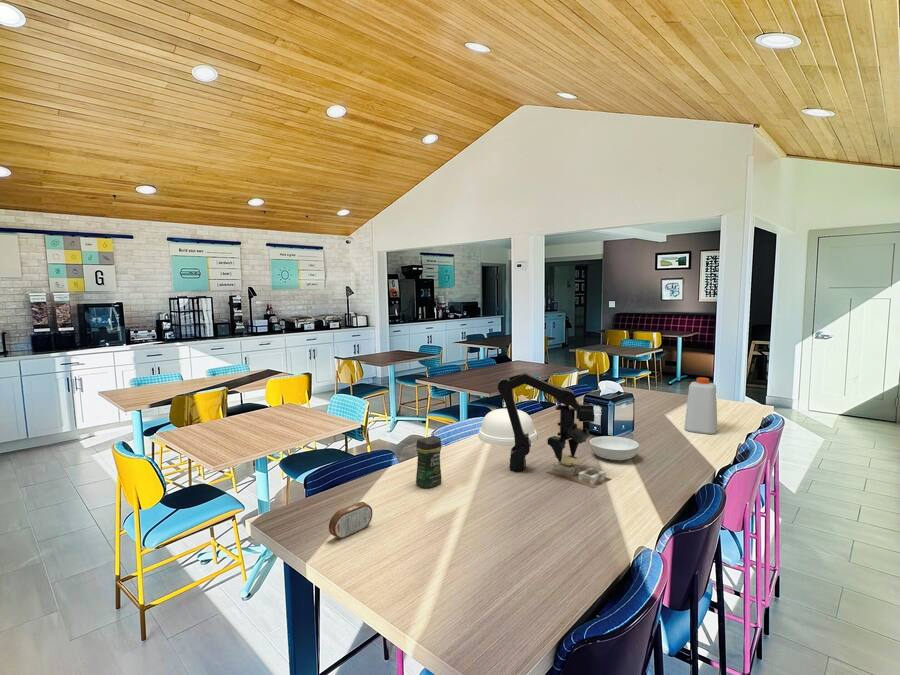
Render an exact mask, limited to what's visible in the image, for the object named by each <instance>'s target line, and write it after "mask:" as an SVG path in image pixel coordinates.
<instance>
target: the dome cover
mask: <svg viewBox="0 0 900 675" xmlns="http://www.w3.org/2000/svg"><path fill="white" fill-rule="evenodd" d="M517 411H518V415H519V418H520V422H521V425H522V429H523V431H524V433H525V434H527V433H528V434H529V439H530V441H531V444H533V443H535V442H536V441H537V440H538V432H537V430H536V429H535V425H534V421H533V419H532V417H531V416H530V415H529V414H528V413H527V412H525V411H523V410H521V409H517ZM478 439H479V440H480V441H481V442H483V443H486V444H489V445H493V446H494V445H495V446H500V447H501V446H502V447H514V446H515V438H514V432H513V428H512V425H511V421H510V418H509V414H508V411H507V407H505V408H498V409H493V410H491V411H489V412H488V413H487V414H485V416H484V418H483V420H482V422H481V427H480V428H479V429H478Z"/></svg>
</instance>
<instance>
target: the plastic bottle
mask: <svg viewBox="0 0 900 675" xmlns="http://www.w3.org/2000/svg"><path fill="white" fill-rule="evenodd" d="M686 402H687V403H686V410H685V418H684V419H685V420H684V425H683V426H684V430H685V431H687V432H689V431H690V433H695V432H696V433H697V434H703V435H714V434H716V433H717V432H718V406H717V405H718V404H717V385H716V383H713V382H710V378H708V377H701V376H700V377H696V381H691V382H690V384H689V385H688V392H687V401H686Z"/></svg>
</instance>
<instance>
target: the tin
mask: <svg viewBox="0 0 900 675" xmlns="http://www.w3.org/2000/svg"><path fill="white" fill-rule="evenodd" d="M372 519H373V508H372V507H371V506H370V505H369V504H368V503H366V502H364V501H360V502H357V503H353V504H351V505H349V506H346V507H343V508H341V509H338V510H337V511H336V512H335V513H334V514H333V515H332V516H331V518H330V520H329V523H328V531H329V533H330V535H332V537H335V538H337V539H345V538H347V537H349V536H352V535H354V534H356V533H359V532H361V531H363V530H365V529H366V528H367V527H369V525H370V523H371V521H372Z"/></svg>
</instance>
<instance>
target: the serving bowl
mask: <svg viewBox="0 0 900 675" xmlns="http://www.w3.org/2000/svg"><path fill="white" fill-rule="evenodd" d="M589 445H590V446H589V447H590V449H591V451H592V452H593V453H594V455H596V456H598V457H600V458H602V459H605V460H608V459H609V460H608V461H614V460H619V461H625V460H630V459H631V458H633V457H635V456H636V455H637V454H638V452H639V448H640V444H639V443H638V442H637V441H635V440H633V439H630V438H628V437H621V436H614V435H613V436H611V435H610V436H609V435H608V436H607V435H603V436H595V437H593V438H591V439H589Z"/></svg>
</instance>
